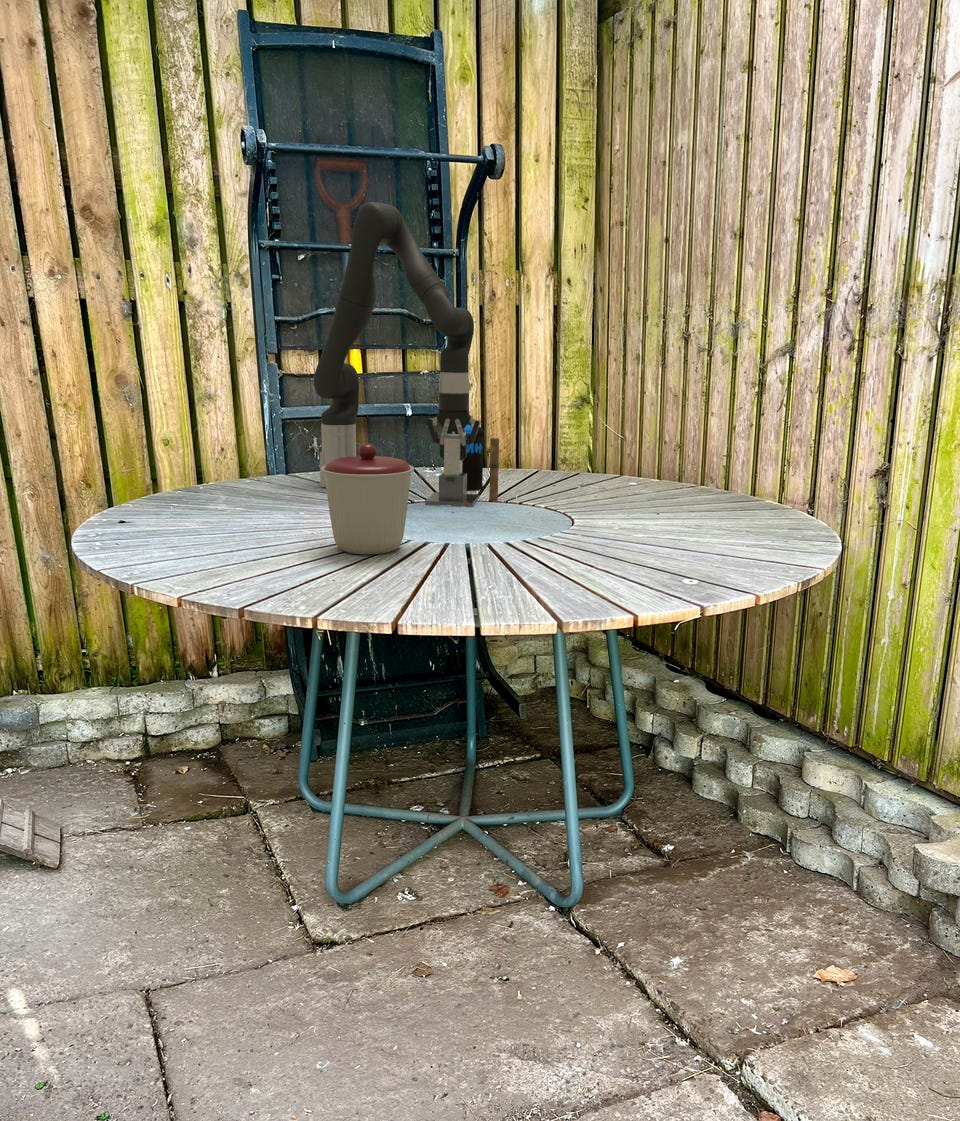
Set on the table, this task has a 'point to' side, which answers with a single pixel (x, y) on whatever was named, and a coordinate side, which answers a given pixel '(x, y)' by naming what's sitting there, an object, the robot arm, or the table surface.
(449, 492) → the stand base
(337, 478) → the canister
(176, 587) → the table surface
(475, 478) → the aerosol can
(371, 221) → the robot arm
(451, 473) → the grey-green long block
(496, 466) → the banded wooden rod
